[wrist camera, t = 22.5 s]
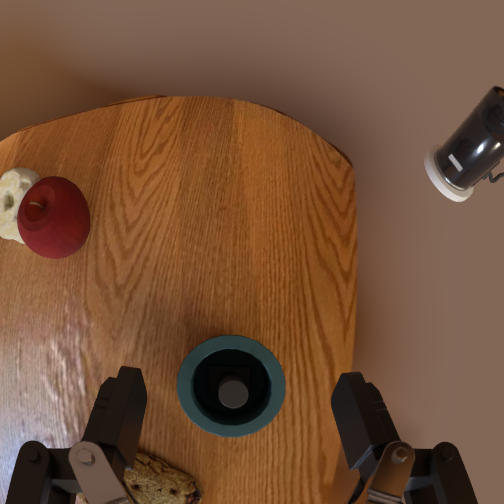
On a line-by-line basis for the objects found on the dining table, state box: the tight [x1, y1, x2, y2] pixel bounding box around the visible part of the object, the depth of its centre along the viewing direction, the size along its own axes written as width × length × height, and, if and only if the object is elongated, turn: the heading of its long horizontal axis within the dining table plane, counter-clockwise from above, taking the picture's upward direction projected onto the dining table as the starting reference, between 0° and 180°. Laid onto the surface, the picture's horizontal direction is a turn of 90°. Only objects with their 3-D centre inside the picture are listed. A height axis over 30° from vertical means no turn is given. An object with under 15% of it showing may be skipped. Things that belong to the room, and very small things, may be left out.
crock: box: [177, 335, 285, 437], centre depth 26 cm, size 9×9×10 cm
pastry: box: [77, 450, 204, 504], centre depth 22 cm, size 17×17×3 cm
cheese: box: [0, 167, 41, 244], centre depth 31 cm, size 15×7×15 cm
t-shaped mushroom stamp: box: [208, 365, 251, 408], centre depth 24 cm, size 4×3×13 cm
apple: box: [17, 176, 90, 259], centre depth 29 cm, size 10×10×10 cm
